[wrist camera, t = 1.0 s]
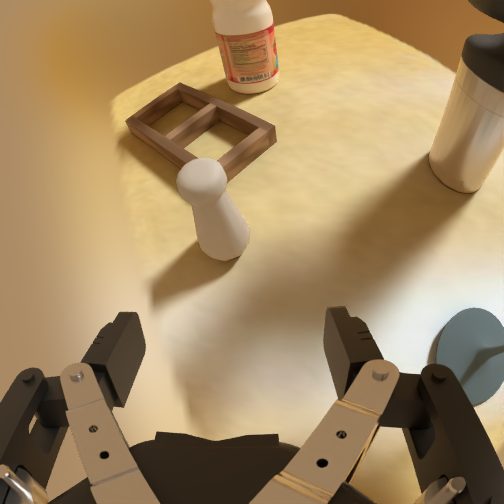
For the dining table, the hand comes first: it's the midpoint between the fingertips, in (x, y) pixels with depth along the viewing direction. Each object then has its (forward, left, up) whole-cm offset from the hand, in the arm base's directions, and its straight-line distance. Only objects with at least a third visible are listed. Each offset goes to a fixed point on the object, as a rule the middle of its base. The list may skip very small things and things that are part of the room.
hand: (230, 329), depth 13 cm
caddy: (-17, -31, -19) cm, 40 cm away
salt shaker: (-7, -13, -19) cm, 24 cm away
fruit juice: (-33, -34, -19) cm, 51 cm away
